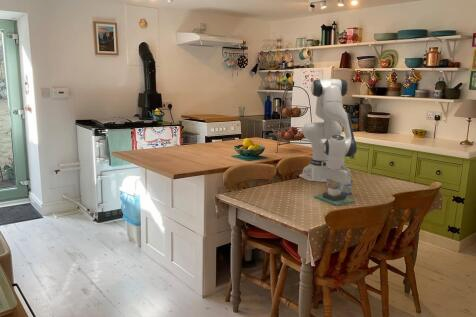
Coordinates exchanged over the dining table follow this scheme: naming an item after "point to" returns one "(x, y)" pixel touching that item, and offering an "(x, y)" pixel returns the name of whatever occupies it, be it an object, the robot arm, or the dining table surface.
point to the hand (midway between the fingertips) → (334, 188)
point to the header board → (334, 199)
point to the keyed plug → (334, 190)
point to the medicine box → (346, 188)
